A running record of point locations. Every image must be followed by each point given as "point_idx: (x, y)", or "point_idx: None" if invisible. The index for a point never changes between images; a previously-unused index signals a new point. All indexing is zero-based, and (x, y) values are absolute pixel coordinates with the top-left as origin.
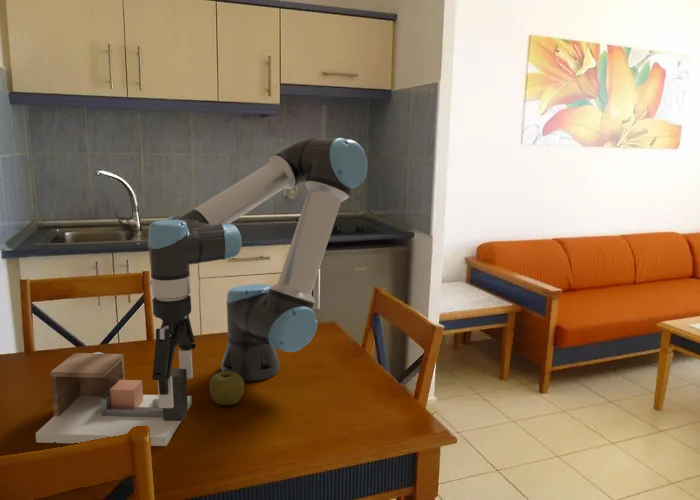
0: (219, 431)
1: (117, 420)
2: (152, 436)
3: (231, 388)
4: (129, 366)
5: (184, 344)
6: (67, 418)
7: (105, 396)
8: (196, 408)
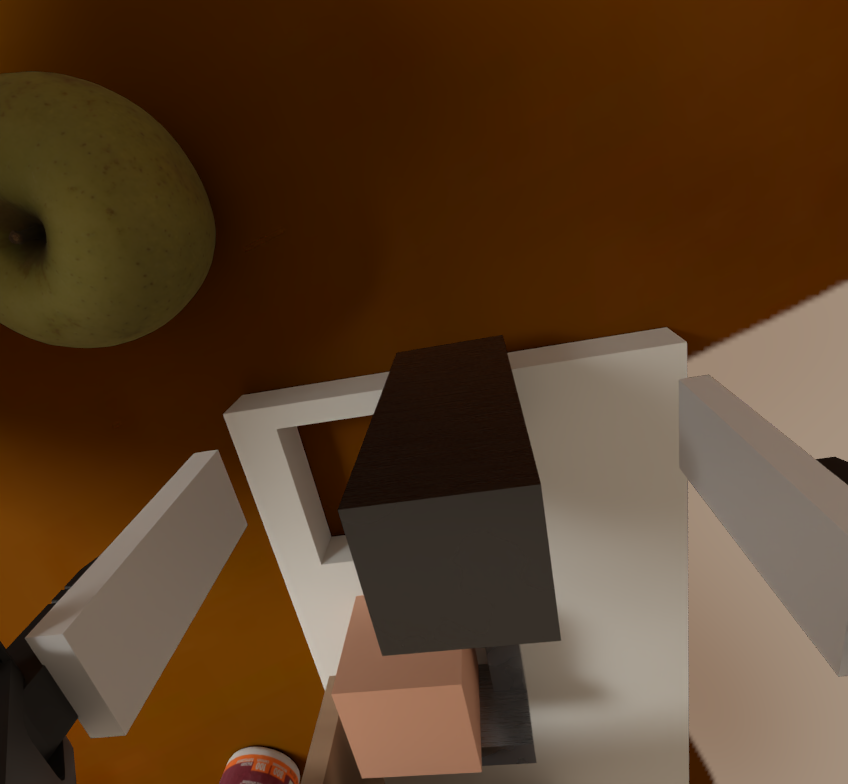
0: (472, 103)
1: None
2: None
3: (129, 132)
4: None
5: (40, 780)
6: (568, 762)
7: (512, 754)
8: (274, 352)
